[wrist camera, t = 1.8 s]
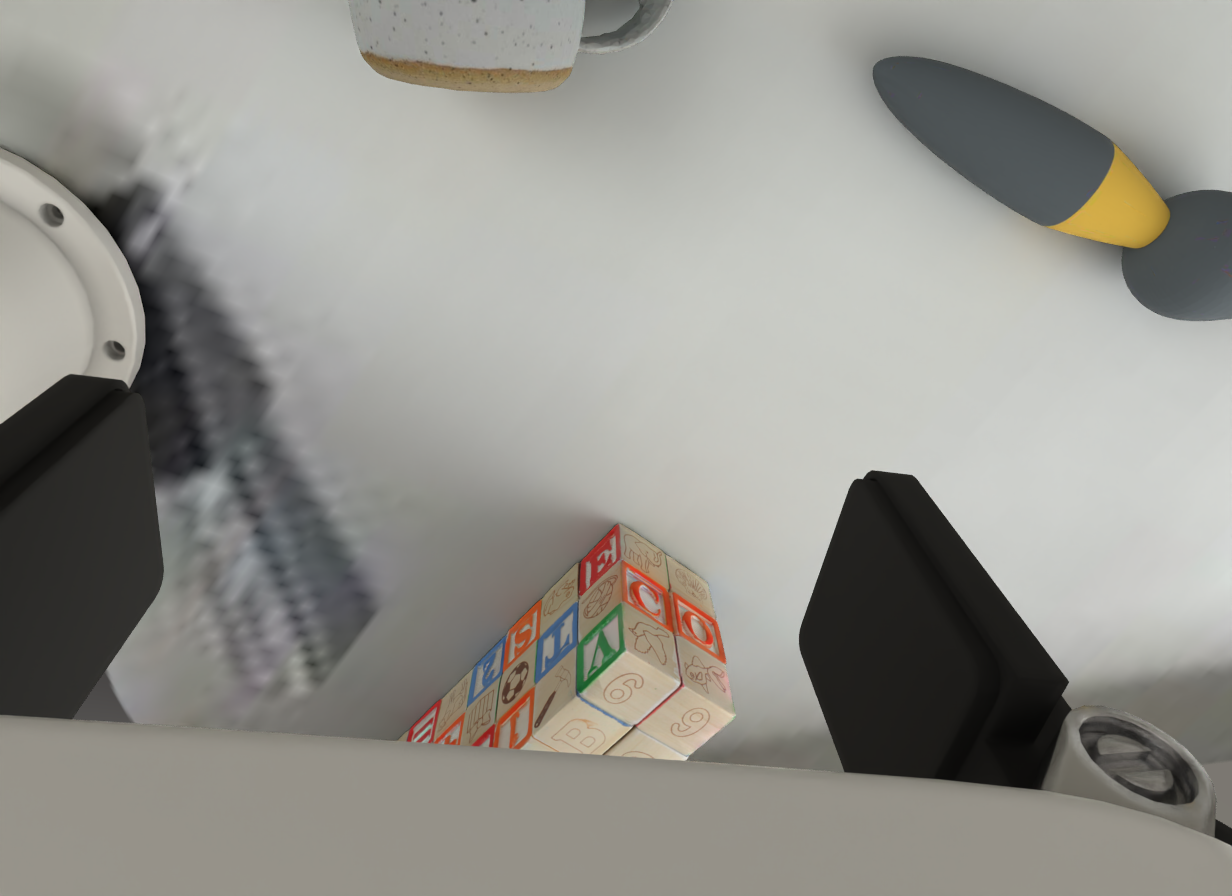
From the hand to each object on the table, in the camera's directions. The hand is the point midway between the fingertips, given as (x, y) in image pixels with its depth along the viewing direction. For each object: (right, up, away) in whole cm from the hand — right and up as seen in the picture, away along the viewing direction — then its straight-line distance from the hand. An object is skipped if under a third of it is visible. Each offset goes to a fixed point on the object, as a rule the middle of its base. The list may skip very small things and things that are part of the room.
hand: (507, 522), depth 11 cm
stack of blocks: (-3, -11, +34) cm, 35 cm away
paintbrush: (+19, +11, +22) cm, 32 cm away
